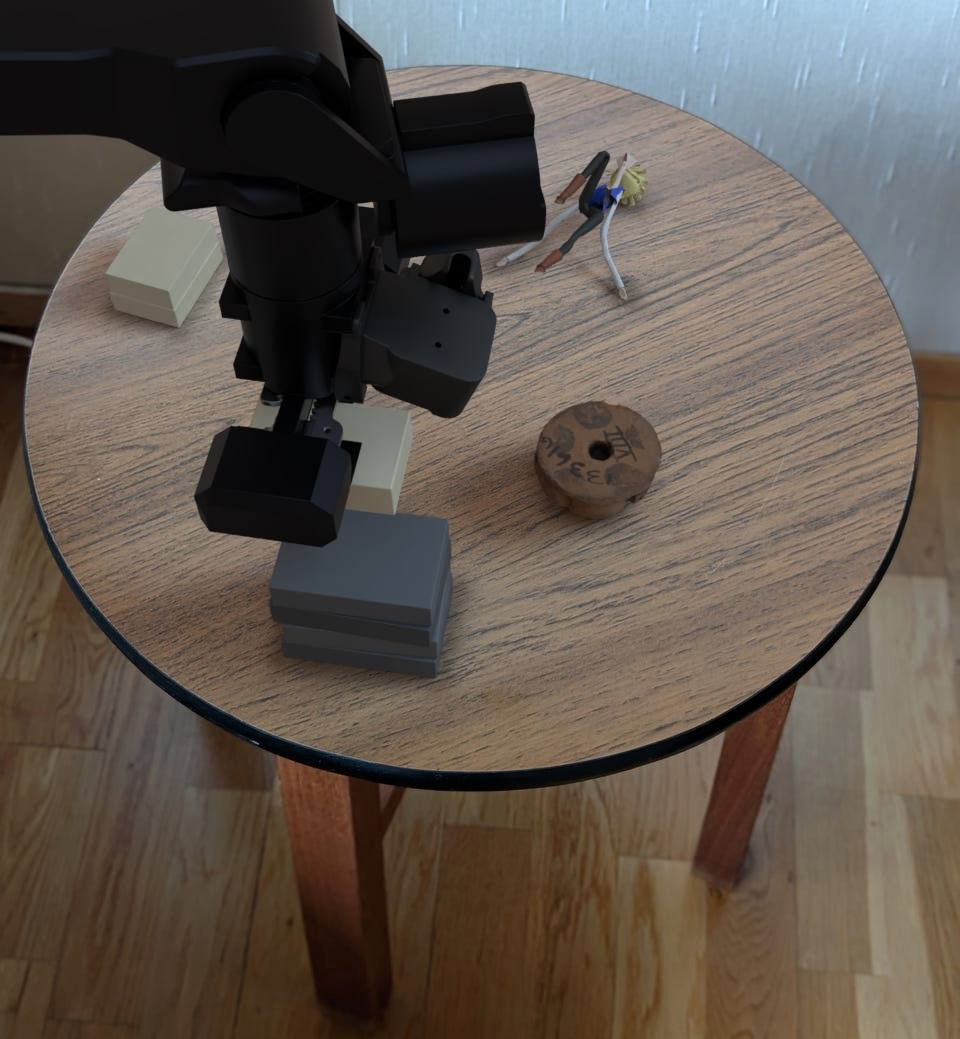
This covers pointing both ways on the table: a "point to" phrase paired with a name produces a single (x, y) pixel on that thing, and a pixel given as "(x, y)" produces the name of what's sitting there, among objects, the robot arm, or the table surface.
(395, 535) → the grey stack
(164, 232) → the sage lidded box
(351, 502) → the cream block
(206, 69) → the robot arm
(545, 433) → the artifact
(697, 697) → the table surface
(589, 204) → the figurine
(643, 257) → the table surface
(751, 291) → the table surface
